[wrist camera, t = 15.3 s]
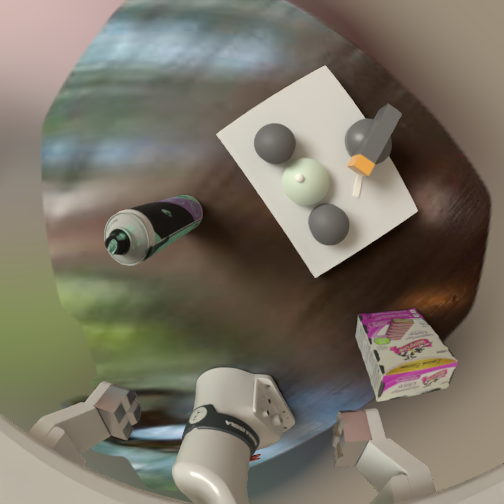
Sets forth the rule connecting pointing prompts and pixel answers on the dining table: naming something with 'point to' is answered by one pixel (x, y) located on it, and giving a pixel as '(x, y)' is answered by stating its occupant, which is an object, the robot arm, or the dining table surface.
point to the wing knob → (371, 140)
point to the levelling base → (328, 148)
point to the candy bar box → (403, 354)
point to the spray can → (150, 228)
